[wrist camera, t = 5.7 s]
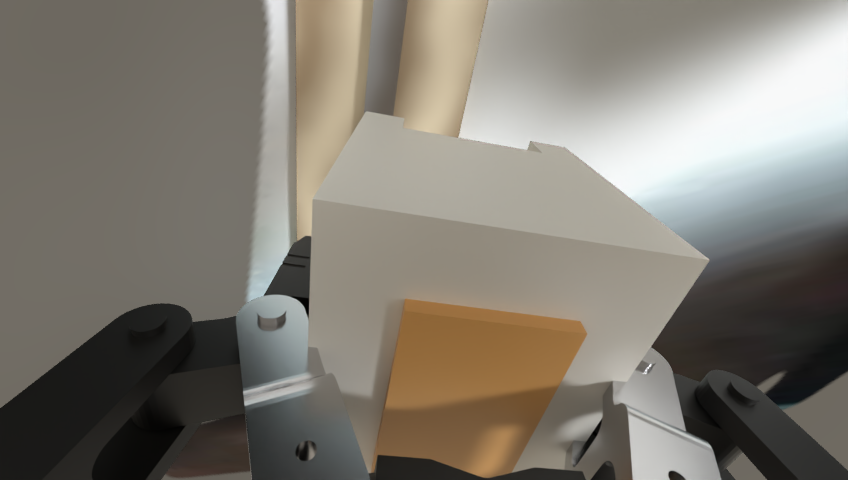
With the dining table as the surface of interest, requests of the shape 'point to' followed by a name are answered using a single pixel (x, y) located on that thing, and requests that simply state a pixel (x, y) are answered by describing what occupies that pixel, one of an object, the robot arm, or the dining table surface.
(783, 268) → the dining table surface
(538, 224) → the block
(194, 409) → the robot arm
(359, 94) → the rail board
